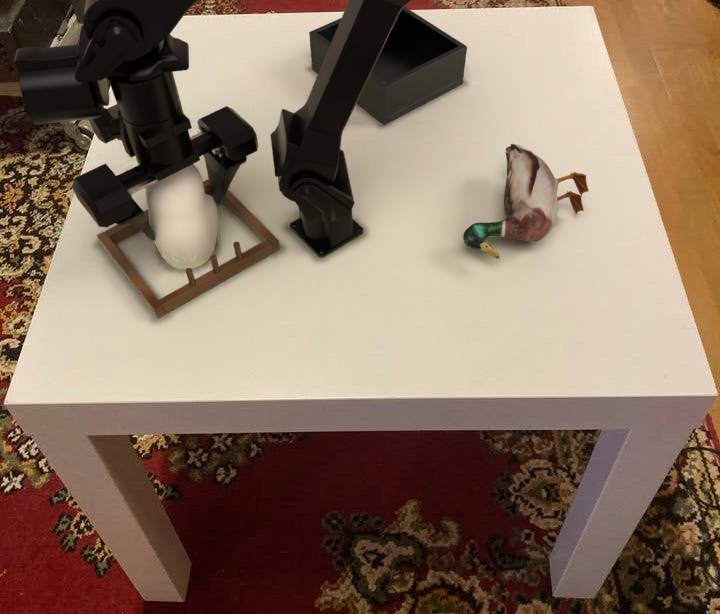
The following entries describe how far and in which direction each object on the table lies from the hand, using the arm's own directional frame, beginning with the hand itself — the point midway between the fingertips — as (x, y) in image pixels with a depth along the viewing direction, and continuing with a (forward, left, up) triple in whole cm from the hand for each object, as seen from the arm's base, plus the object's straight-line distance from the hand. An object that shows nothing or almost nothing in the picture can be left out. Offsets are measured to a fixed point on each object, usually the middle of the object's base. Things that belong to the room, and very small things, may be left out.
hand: (185, 220), depth 81 cm
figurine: (0, 0, -4) cm, 4 cm away
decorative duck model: (-20, -32, -4) cm, 38 cm away
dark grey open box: (+11, -39, -4) cm, 40 cm away
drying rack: (0, 0, -4) cm, 4 cm away
